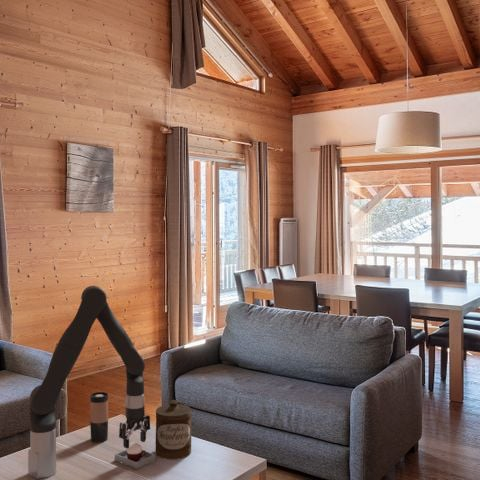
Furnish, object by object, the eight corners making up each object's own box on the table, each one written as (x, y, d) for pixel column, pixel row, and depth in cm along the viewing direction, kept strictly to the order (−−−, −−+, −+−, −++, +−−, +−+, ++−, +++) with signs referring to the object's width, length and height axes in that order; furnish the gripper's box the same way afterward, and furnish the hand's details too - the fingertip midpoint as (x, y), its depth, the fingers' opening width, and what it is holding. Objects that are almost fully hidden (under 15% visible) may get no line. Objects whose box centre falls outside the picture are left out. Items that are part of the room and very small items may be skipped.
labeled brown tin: (156, 461, 230) (156, 407, 229) (154, 446, 244) (154, 395, 243) (193, 458, 233) (193, 405, 232) (189, 444, 247) (189, 393, 246)
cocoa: (146, 458, 232) (148, 428, 232) (142, 464, 226) (143, 434, 225) (123, 455, 233) (125, 426, 233) (118, 461, 227) (120, 431, 227)
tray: (136, 469, 222) (136, 463, 222) (114, 460, 230) (114, 454, 230) (155, 461, 230) (155, 454, 230) (133, 452, 238) (133, 446, 238)
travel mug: (110, 436, 254) (110, 392, 254) (104, 443, 247) (104, 397, 246) (93, 435, 255) (93, 391, 254) (87, 442, 248) (87, 397, 247)
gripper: (127, 411, 221) (127, 452, 222) (154, 402, 232) (154, 441, 233) (114, 407, 226) (114, 447, 226) (142, 398, 237) (141, 437, 237)
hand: (134, 444), depth 230 cm, fingers open, 8 cm apart
